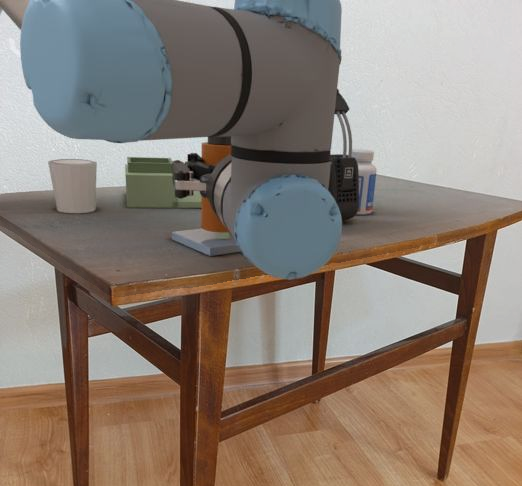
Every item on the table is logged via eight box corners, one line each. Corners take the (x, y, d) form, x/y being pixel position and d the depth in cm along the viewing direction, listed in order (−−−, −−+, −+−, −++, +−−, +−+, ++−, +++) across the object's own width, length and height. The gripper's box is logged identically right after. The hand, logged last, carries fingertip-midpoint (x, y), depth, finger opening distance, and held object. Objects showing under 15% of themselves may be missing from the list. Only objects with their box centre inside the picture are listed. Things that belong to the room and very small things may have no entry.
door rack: (127, 210, 91) (121, 66, 83) (126, 192, 105) (120, 67, 97) (239, 210, 95) (243, 73, 86) (223, 193, 109) (225, 73, 101)
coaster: (210, 256, 69) (210, 247, 69) (171, 239, 75) (171, 231, 75) (270, 247, 74) (270, 239, 74) (229, 232, 81) (229, 225, 80)
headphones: (247, 201, 103) (251, 74, 95) (277, 198, 106) (283, 76, 98) (329, 226, 86) (342, 75, 78) (361, 223, 89) (377, 77, 81)
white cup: (79, 203, 94) (76, 157, 91) (109, 209, 90) (106, 162, 87) (42, 208, 89) (37, 160, 86) (72, 216, 85) (68, 165, 82)
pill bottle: (362, 208, 102) (369, 149, 98) (377, 215, 97) (385, 152, 93) (333, 208, 100) (339, 148, 96) (347, 215, 95) (354, 152, 91)
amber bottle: (194, 229, 73) (194, 132, 68) (212, 222, 77) (213, 130, 72) (230, 234, 71) (233, 135, 66) (247, 226, 75) (250, 133, 71)
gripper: (155, 237, 55) (145, 193, 75) (339, 236, 59) (282, 195, 79) (153, 152, 52) (143, 131, 72) (347, 157, 56) (285, 135, 76)
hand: (215, 164), depth 76 cm, fingers closed on amber bottle, 5 cm apart
